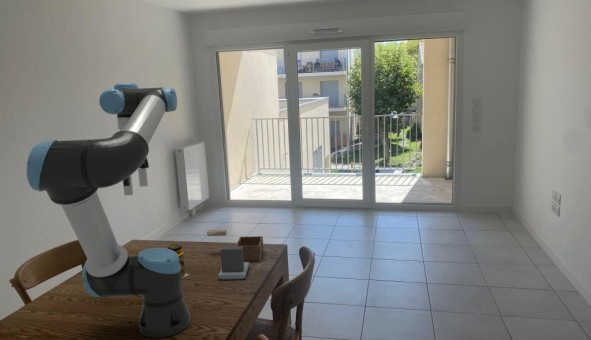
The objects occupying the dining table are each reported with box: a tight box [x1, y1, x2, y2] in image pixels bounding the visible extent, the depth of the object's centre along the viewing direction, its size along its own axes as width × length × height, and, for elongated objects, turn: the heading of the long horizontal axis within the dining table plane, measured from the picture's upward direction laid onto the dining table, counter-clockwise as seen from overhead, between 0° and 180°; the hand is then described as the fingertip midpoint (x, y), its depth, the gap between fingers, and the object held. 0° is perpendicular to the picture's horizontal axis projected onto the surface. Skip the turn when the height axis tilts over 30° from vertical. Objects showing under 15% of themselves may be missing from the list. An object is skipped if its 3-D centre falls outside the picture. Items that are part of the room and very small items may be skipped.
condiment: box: [167, 243, 190, 279], centre depth 168 cm, size 7×8×12 cm
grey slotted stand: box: [217, 246, 250, 281], centre depth 168 cm, size 12×10×11 cm
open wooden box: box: [234, 235, 264, 263], centre depth 185 cm, size 12×10×7 cm
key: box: [206, 229, 228, 237], centre depth 189 cm, size 2×8×2 cm, turn 88°
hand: (136, 190), depth 152 cm, fingers open, 13 cm apart
